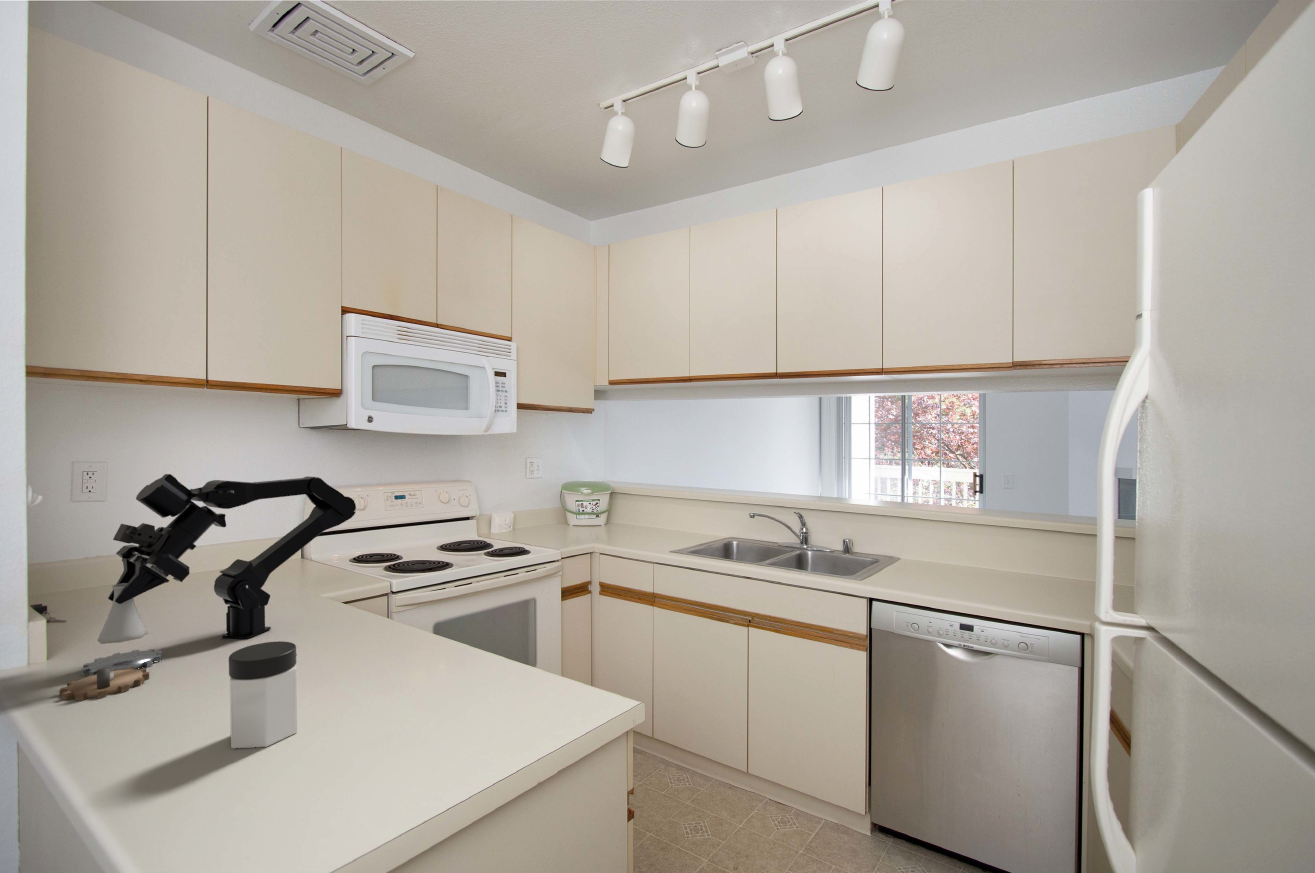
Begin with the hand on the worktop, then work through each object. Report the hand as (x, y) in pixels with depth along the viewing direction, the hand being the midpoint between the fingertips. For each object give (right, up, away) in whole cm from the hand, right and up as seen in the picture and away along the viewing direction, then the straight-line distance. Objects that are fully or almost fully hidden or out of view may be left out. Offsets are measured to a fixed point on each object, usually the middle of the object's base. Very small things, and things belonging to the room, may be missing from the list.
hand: (113, 601), depth 114 cm
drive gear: (+6, -12, -8) cm, 16 cm away
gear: (+1, -12, +1) cm, 12 cm away
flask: (+1, -7, +1) cm, 8 cm away
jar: (+44, -12, -25) cm, 52 cm away
